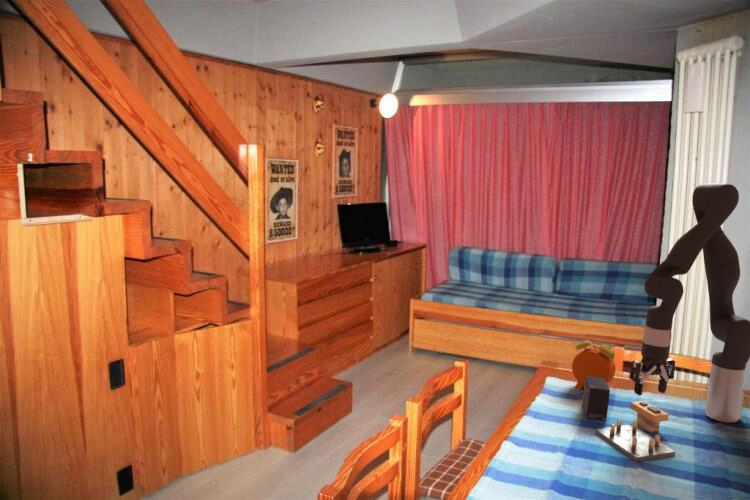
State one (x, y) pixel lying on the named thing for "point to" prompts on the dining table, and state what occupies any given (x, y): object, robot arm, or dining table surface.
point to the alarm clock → (593, 362)
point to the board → (649, 411)
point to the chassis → (634, 442)
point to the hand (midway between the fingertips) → (649, 393)
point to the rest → (647, 423)
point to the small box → (595, 398)
